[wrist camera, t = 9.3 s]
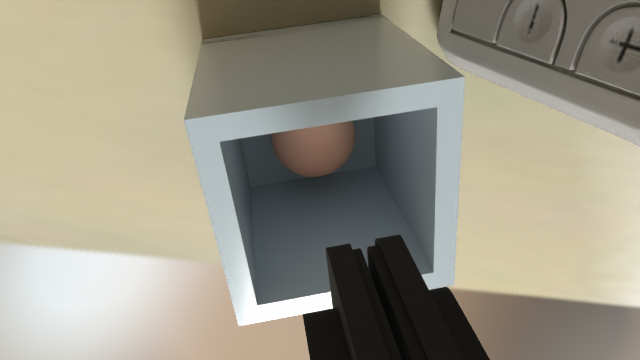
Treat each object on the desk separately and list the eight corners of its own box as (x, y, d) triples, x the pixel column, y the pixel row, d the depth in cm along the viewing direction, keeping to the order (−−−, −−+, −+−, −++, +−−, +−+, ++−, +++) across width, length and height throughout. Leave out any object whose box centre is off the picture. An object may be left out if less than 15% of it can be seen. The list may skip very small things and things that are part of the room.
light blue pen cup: (381, 14, 19) (464, 77, 12) (386, 168, 23) (453, 285, 16) (202, 39, 18) (183, 120, 12) (237, 194, 22) (238, 326, 15)
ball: (341, 74, 19) (362, 106, 16) (346, 145, 21) (366, 184, 18) (261, 87, 19) (269, 121, 16) (273, 158, 20) (282, 200, 18)
